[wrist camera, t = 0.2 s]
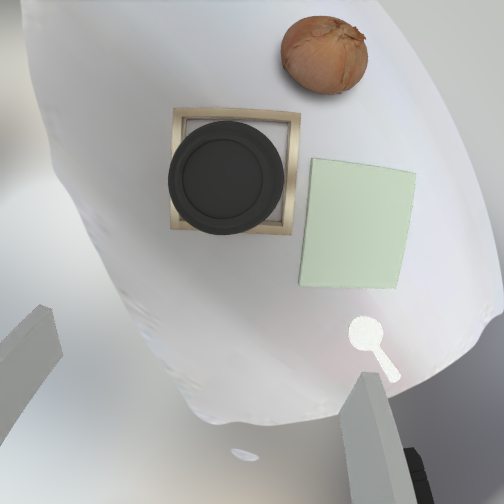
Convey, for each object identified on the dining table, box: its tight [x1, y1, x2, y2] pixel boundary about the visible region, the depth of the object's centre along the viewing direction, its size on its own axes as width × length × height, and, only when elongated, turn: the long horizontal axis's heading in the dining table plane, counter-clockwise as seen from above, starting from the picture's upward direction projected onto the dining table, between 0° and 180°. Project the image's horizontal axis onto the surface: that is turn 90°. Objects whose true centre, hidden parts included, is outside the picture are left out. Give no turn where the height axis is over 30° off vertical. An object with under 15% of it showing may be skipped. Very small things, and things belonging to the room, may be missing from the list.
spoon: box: [348, 315, 401, 383], centre depth 44 cm, size 5×18×1 cm, turn 38°
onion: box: [281, 16, 368, 95], centre depth 26 cm, size 10×9×10 cm
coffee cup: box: [168, 121, 284, 235], centre depth 28 cm, size 9×9×15 cm
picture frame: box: [170, 108, 301, 236], centre depth 34 cm, size 14×14×2 cm
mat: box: [299, 158, 416, 289], centre depth 37 cm, size 16×14×1 cm
